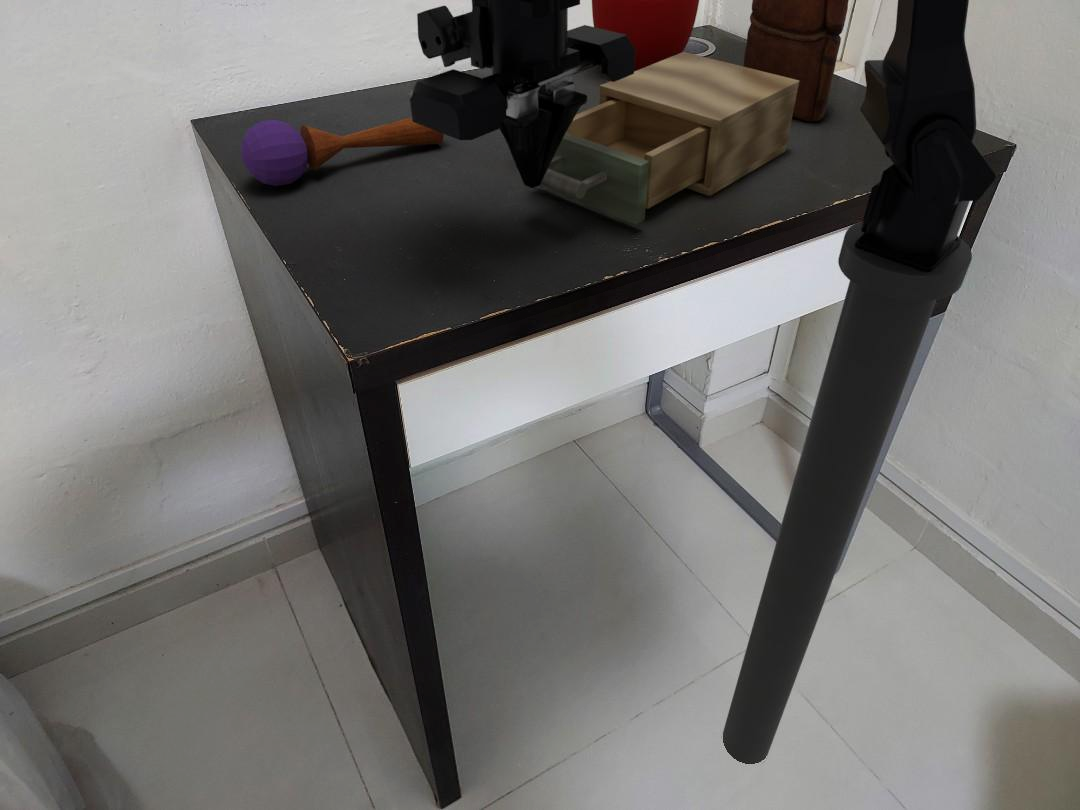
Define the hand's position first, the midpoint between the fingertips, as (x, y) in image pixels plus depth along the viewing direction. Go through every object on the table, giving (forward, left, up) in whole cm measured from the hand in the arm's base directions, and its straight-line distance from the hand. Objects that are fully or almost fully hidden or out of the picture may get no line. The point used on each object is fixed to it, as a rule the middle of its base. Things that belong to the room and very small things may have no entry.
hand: (532, 185), depth 64 cm
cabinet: (0, -23, -5) cm, 24 cm away
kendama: (+24, +2, -5) cm, 25 cm away
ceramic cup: (+20, -42, -5) cm, 47 cm away
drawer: (0, -10, -4) cm, 11 cm away
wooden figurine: (0, -41, -5) cm, 42 cm away
